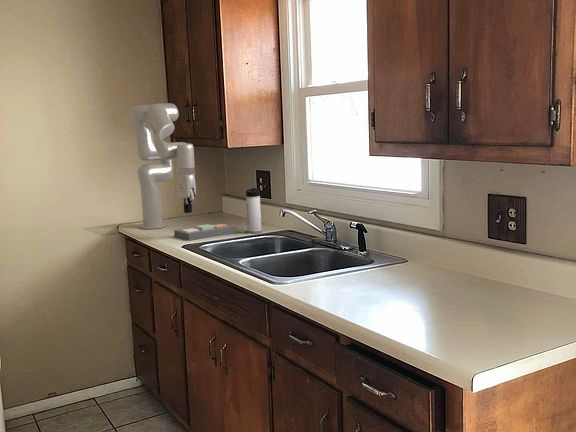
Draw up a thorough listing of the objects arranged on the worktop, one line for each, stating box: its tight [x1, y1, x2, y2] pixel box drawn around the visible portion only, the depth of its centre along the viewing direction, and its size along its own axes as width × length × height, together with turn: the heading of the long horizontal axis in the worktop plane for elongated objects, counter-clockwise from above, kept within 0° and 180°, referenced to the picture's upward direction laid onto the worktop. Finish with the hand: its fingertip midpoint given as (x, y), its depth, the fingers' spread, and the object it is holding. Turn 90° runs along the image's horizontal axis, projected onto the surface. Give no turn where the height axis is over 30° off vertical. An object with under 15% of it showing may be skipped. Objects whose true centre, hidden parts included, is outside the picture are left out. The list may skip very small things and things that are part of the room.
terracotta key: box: [212, 223, 228, 228], centre depth 301 cm, size 6×6×2 cm
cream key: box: [181, 227, 199, 233], centre depth 292 cm, size 6×6×2 cm
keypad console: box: [173, 223, 237, 242], centre depth 296 cm, size 14×24×3 cm, turn 127°
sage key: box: [195, 223, 214, 230], centre depth 296 cm, size 6×6×2 cm
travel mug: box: [245, 187, 262, 235], centre depth 297 cm, size 6×7×20 cm
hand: (188, 212), depth 291 cm, fingers closed
